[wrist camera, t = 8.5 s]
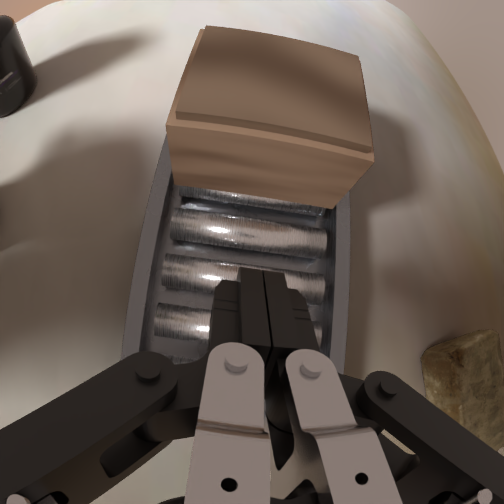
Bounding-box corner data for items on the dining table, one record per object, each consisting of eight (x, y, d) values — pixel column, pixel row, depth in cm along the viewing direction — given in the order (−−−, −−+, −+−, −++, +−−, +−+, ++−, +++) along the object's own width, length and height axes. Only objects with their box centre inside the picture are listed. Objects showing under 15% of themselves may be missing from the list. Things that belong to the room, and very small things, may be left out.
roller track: (320, 423, 20) (367, 451, 13) (127, 405, 18) (93, 431, 12) (333, 125, 26) (364, 71, 20) (185, 99, 25) (184, 37, 18)
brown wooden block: (332, 209, 20) (380, 155, 14) (174, 184, 19) (164, 116, 13) (330, 115, 23) (363, 54, 16) (198, 91, 22) (200, 21, 15)
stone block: (461, 329, 23) (501, 323, 18) (473, 441, 21) (509, 449, 16) (413, 350, 22) (454, 349, 17) (428, 471, 19) (464, 486, 15)
